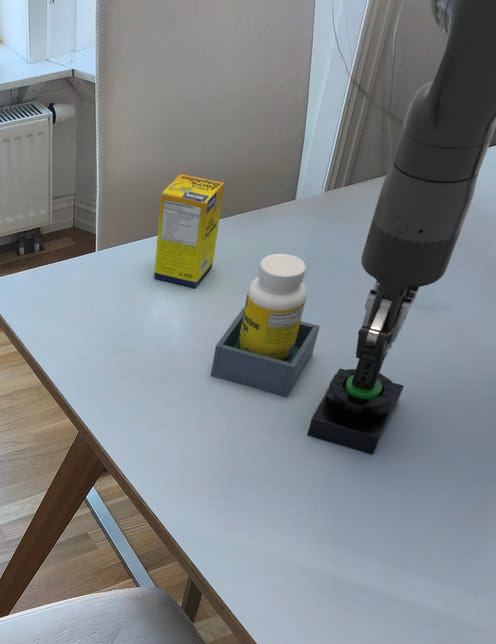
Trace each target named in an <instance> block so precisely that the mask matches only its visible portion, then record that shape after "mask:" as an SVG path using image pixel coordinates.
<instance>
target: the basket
mask: <svg viewBox="0 0 496 644" xmlns="http://www.w3.org/2000/svg"><path fill="white" fill-rule="evenodd" d="M244 309H245V306H243V308H242V309H241V310H240V312H239V313H238V314H237V316H236V317H235V319H233V321H232V323H231V324H230V325H229V327H227V329H226V331H225V332H224V334H223V335H222V336H221V338H220V340H219V341H218V342H217V343H216V345H215V347H214V348H215V349H214V354H213V360H212V366H211V371H210V375H211V376H213V377H215V378H220V379H223V380H227V381H230V382H233V383H237V384H240V385H241V384H242V385H244V386H249V387H252V388H256V389H258V390H263V391H266V392H269V393H273V394H277V395H280V396H284V397H288V396H289V394H290V392H291V391H292V389H293V388H294V386H295V384H296V383H297V381H298V379H299V378H300V376H301V374H302V372H303V371H304V369H305V368H306V366H307V364H308V363H309V361H310V359H311V358H312V356H313V353H314V349H315V346H316V341H317V338H318V334H319V330H320V327H321V326H320V325H318V324H314V323H310V322H306V321H303V320H301V321H300V325H299V329H298V333H297V337H296V341H295V345H294V349H293V353H292V356H291V359H290V361H289V362H285V361H282V360H278V359H274V358H270V357H267V356H263V355H259V354H256V353H252V352H248V351H245V350H241V349H237V347H238V340H239V336H240V330H241V325H242V320H243V315H244Z"/></svg>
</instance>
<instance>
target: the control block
mask: <svg viewBox="0 0 496 644" xmlns="http://www.w3.org/2000/svg"><path fill="white" fill-rule="evenodd" d="M355 371H356V368H348V369H344V368H339V369H338V370H337V372H336V374H334V375H333V377H332V379H331V381H330V383H329V386H328V388H327V389H326V393H325V394H324V396H323V397H322V399H321V401H320V403H319V405H318V406H317V407H316V410H315V412H314V413H313V415H312V417H311V420H310V423H309V426H308V430H307V434H306V435H307V436H309V437H313V438H316V439H320V440H323V441H327V442H331V443H333V444H336V445H339V446H343V447H346V448H350V449H354V450H357V451H361V452H364V453H366V454H370V455H374V454H375V451H376V449H377V447H378V445H379V442H380V441H381V438H382V436H383V435H384V432H385V430H386V428H387V426H388V424H389V422H390V420H391V418H392V416H393V413H394V412H395V409H396V407H397V406H398V403H399V400H400V398H401V395H402V392H403V389H404V385H403V384H400V383H396V382H393V380H392V379H390V378H388V377H386V376H385V375H384V374H382V373H379V376H378V380H379V381H380V382H381V384H382V390H381V393H380V395H379V397H377V398H375V399H361V398H357V397H353V396H351V395H350V394H348V393H347V392H345V390H344V388H345V385H346V381H347V379H348V378H349V377H351V376H353V375H354V374H355Z"/></svg>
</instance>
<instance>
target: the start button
mask: <svg viewBox="0 0 496 644" xmlns="http://www.w3.org/2000/svg"><path fill="white" fill-rule="evenodd" d="M353 377H354V375H353V376H351V377H349V378H348V379H347V381H346V385H345V388H344V390H345V392H347V393H348V394H350V395H351V396H353V397H357V398H361V399H375V398H377V397H379V395H380V393H381V390H382V384H381V382H380V381H379V380H378V379H377V381H376V383H375V385H374V387H373V389H371V390H366V389H362V388H359V387H355V386H353V384H352V380H353Z"/></svg>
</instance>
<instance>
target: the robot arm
mask: <svg viewBox="0 0 496 644" xmlns="http://www.w3.org/2000/svg"><path fill="white" fill-rule="evenodd" d="M429 4H430V5H429V6H430V11H431V15H432V18H433V21H434V22H435V24H436V26H437V27H438V28H439V30H440V31H441V32H442V33H443V35H444V36H445V37H446V42H445V46H444V50H443V54H442V56H441V59H440V62H439V64H438V66H437V69H436V71H435V74H434V76H433V79H432V80H430V81H428V82H426V83H425V84H424V85H422V86H420V88H419V89H418V90H417V91H416V92H415V94H414V95H413V97H412V98H411V101H410V103H409V106H408V109H407V112H406V114H405V117H404V120H403V124H402V128H401V131H400V135H399V139H398V140H397V145H396V149H395V152H394V154H393V158H392V161H391V165H390V166H389V168H388V171H387V174H386V176H385V177H384V181H383V183H382V185H381V189H380V192H379V196H378V199H377V203H376V206H375V209H374V212H373V216H372V220H371V223H370V227H369V230H368V233H367V237H366V241H365V244H364V247H363V251H362V254H361V265H362V269H364V271H365V272H366V273H367V274H368V275H369V276H370V277H373V279H375V283H374V286H373V288H370V290H369V293H368V295H367V298H366V301H365V305H364V309H365V313H364V317H363V320H362V324H361V326H360V327H361V328H359V330H358V333H357V335H358V337H357V342H356V343H357V344H356V351H355V359H358V362H357V364H356V368H355V369H356V371H355V374H354V377H353V380H352V384H353V386H355V387H359V388H362V389H366V390H371V389H373V387H374V385H375V383H376V381H377V379H378V376H379V373H380V372H381V370H382V367H383V365H384V361H385V359H386V358H387V357H388V354H389V350H390V349H392V346H393V343H395V342H396V340H397V338H398V336H399V334H400V331H402V328H403V327H404V324H405V321H406V319H407V316H408V314H409V312H410V310H411V307H412V305H413V304H414V303H415V300H416V299H417V295H418V294H419V291H420V287H425V286H429V285H431V284H434V283H436V282H437V281H439V280H441V278H442V277H444V275H445V273H446V271H447V269H448V266H449V264H450V262H451V261H450V260H451V258H452V255H453V252H454V250H455V248H456V245H457V242H458V239H459V236H460V234H461V231H462V228H463V225H464V223H465V220H466V218H467V215H468V213H469V209H470V207H471V205H472V200H473V198H474V194H475V190H476V185H477V180H478V177H479V173H480V171H481V169H482V165H483V163H484V160H485V157H486V154H487V153H488V150H489V146H490V144H491V141H492V138H493V136H494V132H495V131H496V0H430V3H429Z"/></svg>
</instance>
